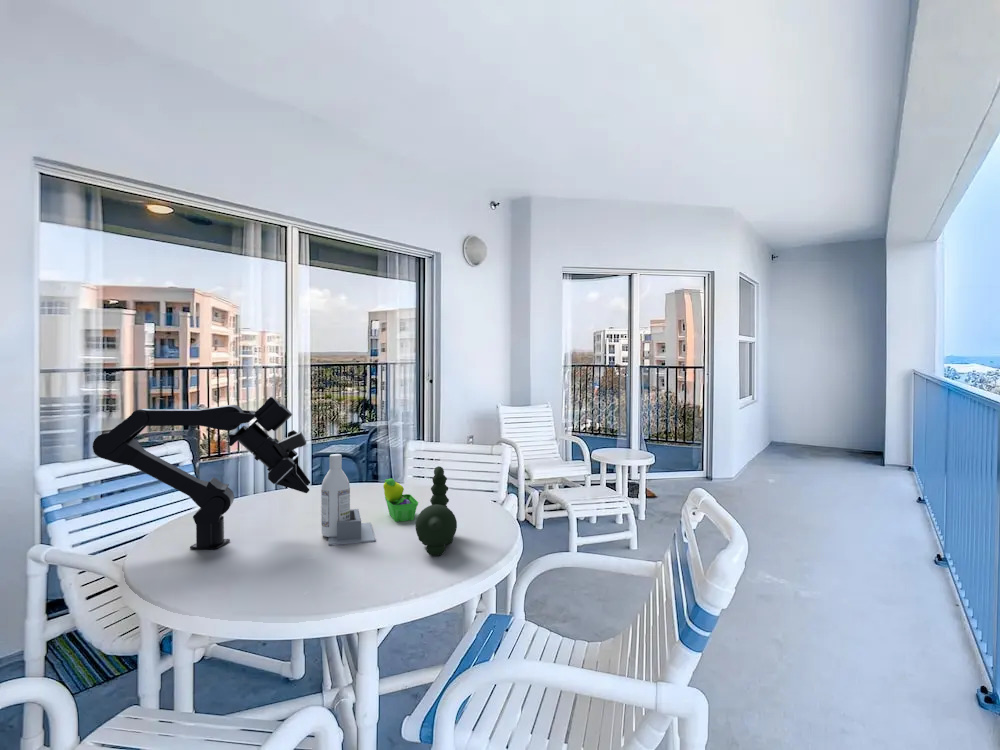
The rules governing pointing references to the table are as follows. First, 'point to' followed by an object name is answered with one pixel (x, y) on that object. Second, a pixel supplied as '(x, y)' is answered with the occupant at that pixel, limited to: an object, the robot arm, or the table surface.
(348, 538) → the gray square holder
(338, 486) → the bath foam
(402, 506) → the fruit basket
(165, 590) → the table surface
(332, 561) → the table surface
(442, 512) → the dark green ornament
